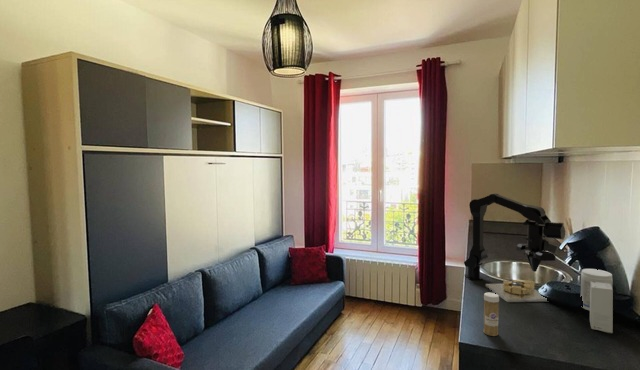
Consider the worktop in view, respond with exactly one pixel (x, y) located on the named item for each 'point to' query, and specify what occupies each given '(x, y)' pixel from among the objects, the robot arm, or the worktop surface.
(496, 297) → the sprinkles bottle
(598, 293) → the skincare box
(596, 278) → the supplement tub
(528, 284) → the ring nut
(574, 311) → the worktop surface
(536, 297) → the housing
